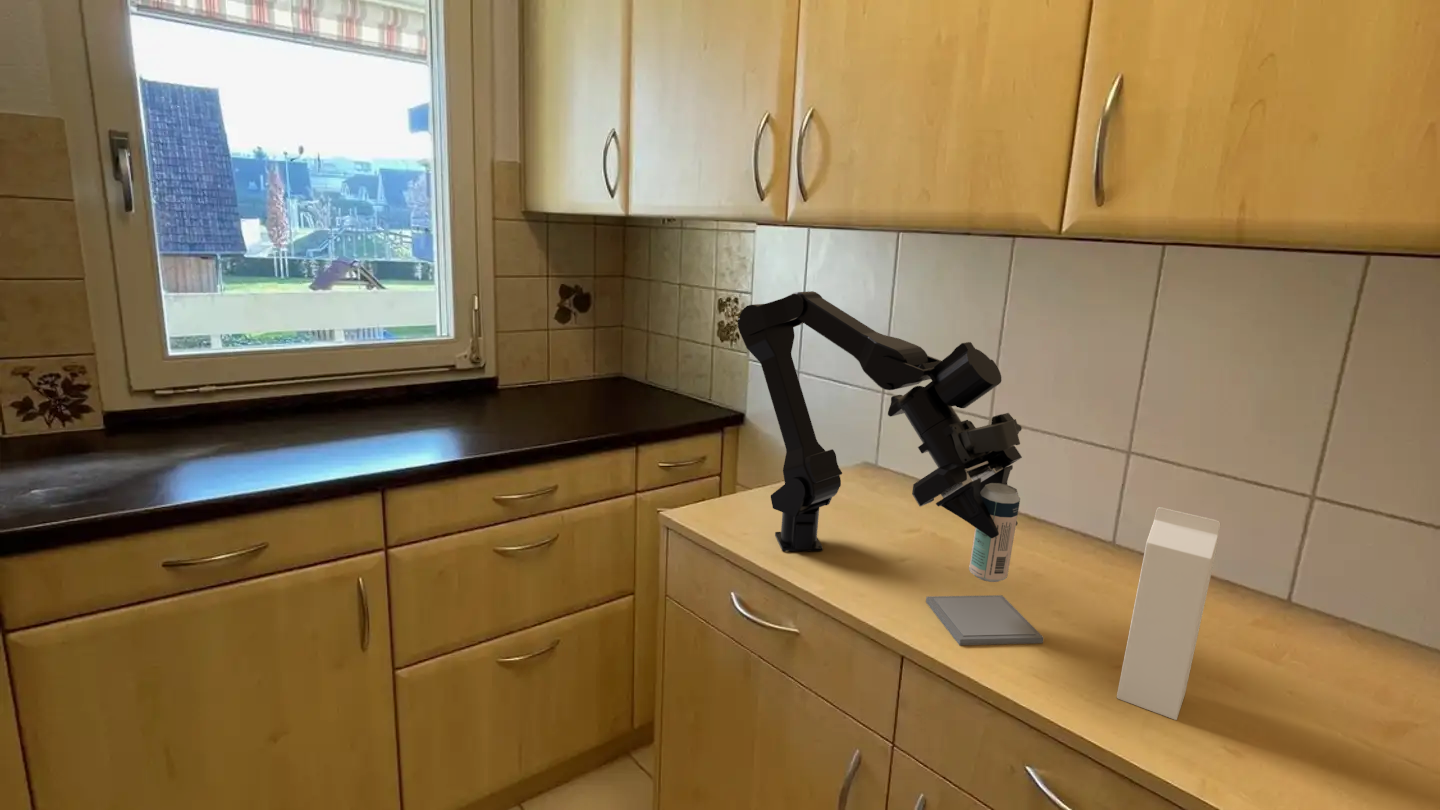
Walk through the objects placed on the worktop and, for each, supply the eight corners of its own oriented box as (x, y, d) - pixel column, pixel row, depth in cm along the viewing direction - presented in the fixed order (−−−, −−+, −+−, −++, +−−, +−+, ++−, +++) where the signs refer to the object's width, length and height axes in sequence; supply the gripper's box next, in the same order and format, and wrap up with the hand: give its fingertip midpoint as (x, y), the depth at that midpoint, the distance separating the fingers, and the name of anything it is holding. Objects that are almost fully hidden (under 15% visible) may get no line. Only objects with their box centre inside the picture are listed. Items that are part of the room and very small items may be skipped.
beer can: (1010, 574, 101) (1024, 487, 98) (1002, 587, 97) (1017, 498, 94) (973, 563, 104) (986, 479, 101) (964, 576, 100) (977, 489, 97)
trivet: (925, 601, 106) (926, 595, 106) (1001, 600, 108) (1002, 594, 108) (959, 645, 96) (960, 638, 96) (1042, 643, 97) (1043, 636, 97)
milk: (1126, 676, 91) (1160, 498, 86) (1185, 696, 88) (1224, 513, 82) (1115, 699, 86) (1150, 513, 81) (1177, 722, 83) (1218, 529, 78)
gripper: (946, 404, 91) (1022, 521, 86) (1018, 385, 104) (1087, 487, 99) (882, 450, 98) (949, 561, 94) (956, 427, 111) (1018, 524, 106)
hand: (1005, 531), depth 98 cm, fingers closed on beer can, 5 cm apart
